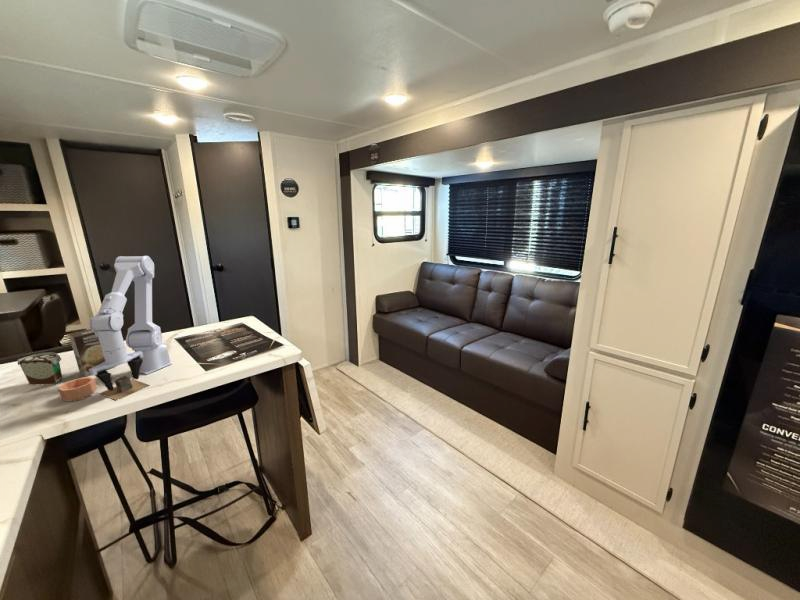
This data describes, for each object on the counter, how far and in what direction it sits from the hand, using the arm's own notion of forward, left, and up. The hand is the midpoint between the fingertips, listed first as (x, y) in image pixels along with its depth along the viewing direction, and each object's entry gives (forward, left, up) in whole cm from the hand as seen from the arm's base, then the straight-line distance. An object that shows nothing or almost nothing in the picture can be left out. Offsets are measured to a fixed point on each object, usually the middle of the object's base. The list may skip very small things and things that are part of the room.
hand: (123, 383), depth 109 cm
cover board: (0, 0, -3) cm, 3 cm away
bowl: (+8, -10, -2) cm, 13 cm away
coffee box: (-4, -26, -2) cm, 26 cm away
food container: (+7, -32, -2) cm, 33 cm away
